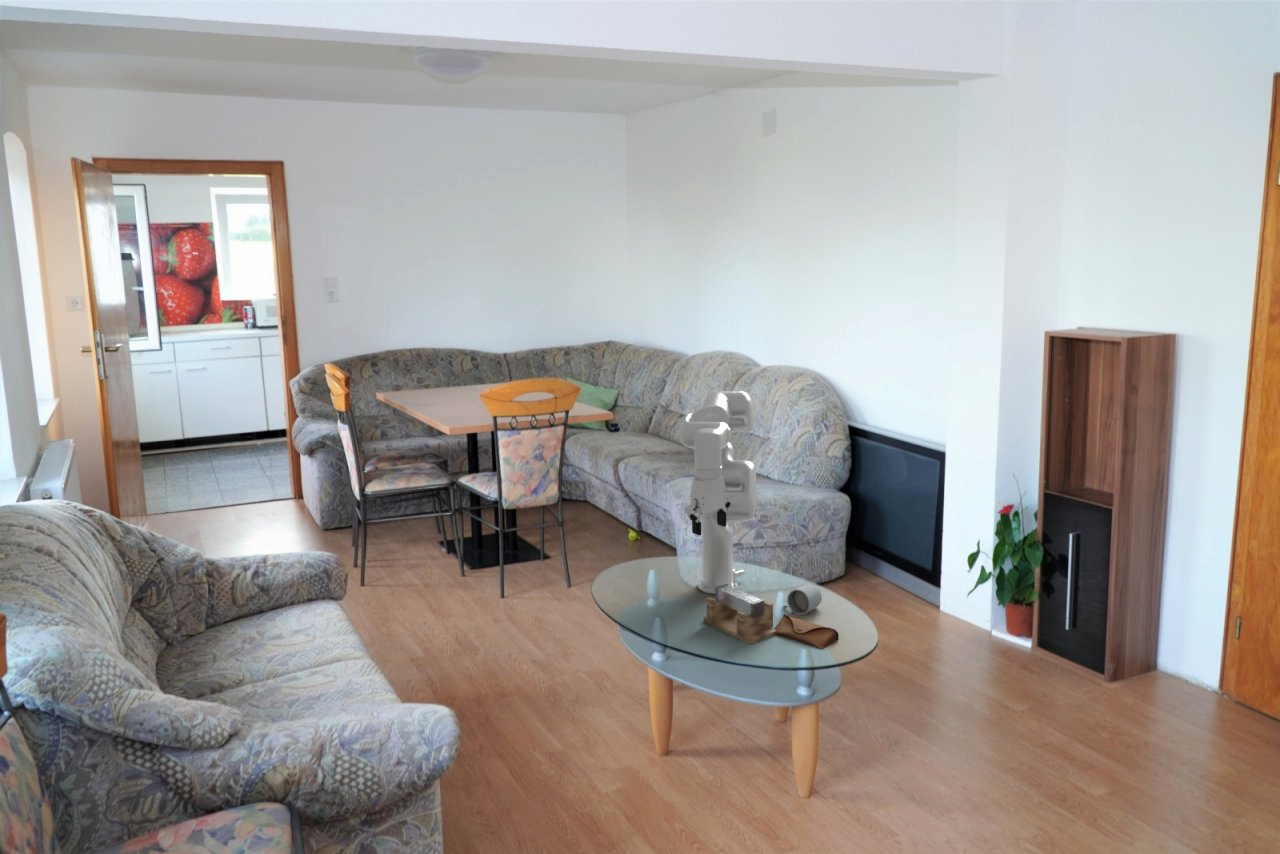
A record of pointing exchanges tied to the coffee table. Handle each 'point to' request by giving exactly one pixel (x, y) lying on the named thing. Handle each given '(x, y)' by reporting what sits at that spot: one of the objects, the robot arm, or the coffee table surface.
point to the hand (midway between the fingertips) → (709, 529)
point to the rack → (740, 621)
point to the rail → (739, 600)
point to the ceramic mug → (804, 599)
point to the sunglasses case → (806, 632)
